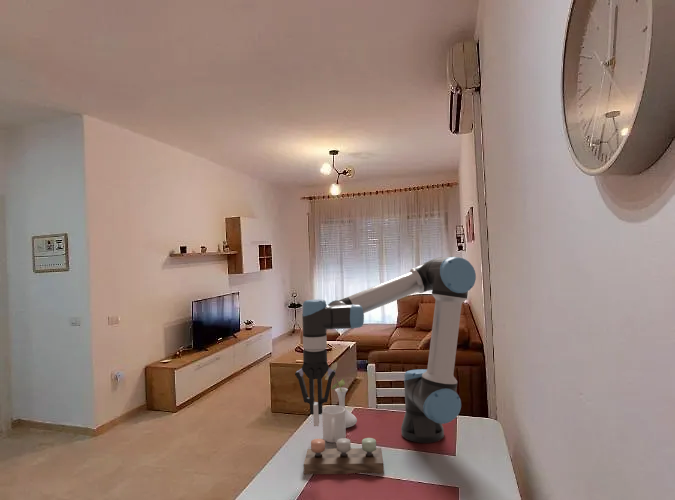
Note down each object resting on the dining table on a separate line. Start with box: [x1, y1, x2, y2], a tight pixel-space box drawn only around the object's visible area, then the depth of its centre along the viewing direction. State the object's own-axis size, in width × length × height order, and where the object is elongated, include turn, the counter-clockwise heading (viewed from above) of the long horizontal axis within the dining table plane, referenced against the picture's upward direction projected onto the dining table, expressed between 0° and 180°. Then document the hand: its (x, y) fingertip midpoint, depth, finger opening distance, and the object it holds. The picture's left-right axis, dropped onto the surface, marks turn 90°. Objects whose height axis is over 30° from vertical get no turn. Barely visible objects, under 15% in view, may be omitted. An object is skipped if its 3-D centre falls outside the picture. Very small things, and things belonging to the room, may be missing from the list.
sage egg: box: [361, 437, 377, 456], centre depth 127 cm, size 4×4×4 cm
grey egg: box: [335, 437, 352, 456], centre depth 127 cm, size 4×4×4 cm
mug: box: [321, 405, 347, 444], centre depth 145 cm, size 12×8×10 cm
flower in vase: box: [324, 361, 358, 429], centre depth 158 cm, size 13×11×25 cm
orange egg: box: [310, 438, 326, 456], centre depth 128 cm, size 4×4×4 cm
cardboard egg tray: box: [303, 447, 385, 475], centre depth 127 cm, size 24×10×3 cm, turn 88°
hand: (316, 424), depth 128 cm, fingers closed
